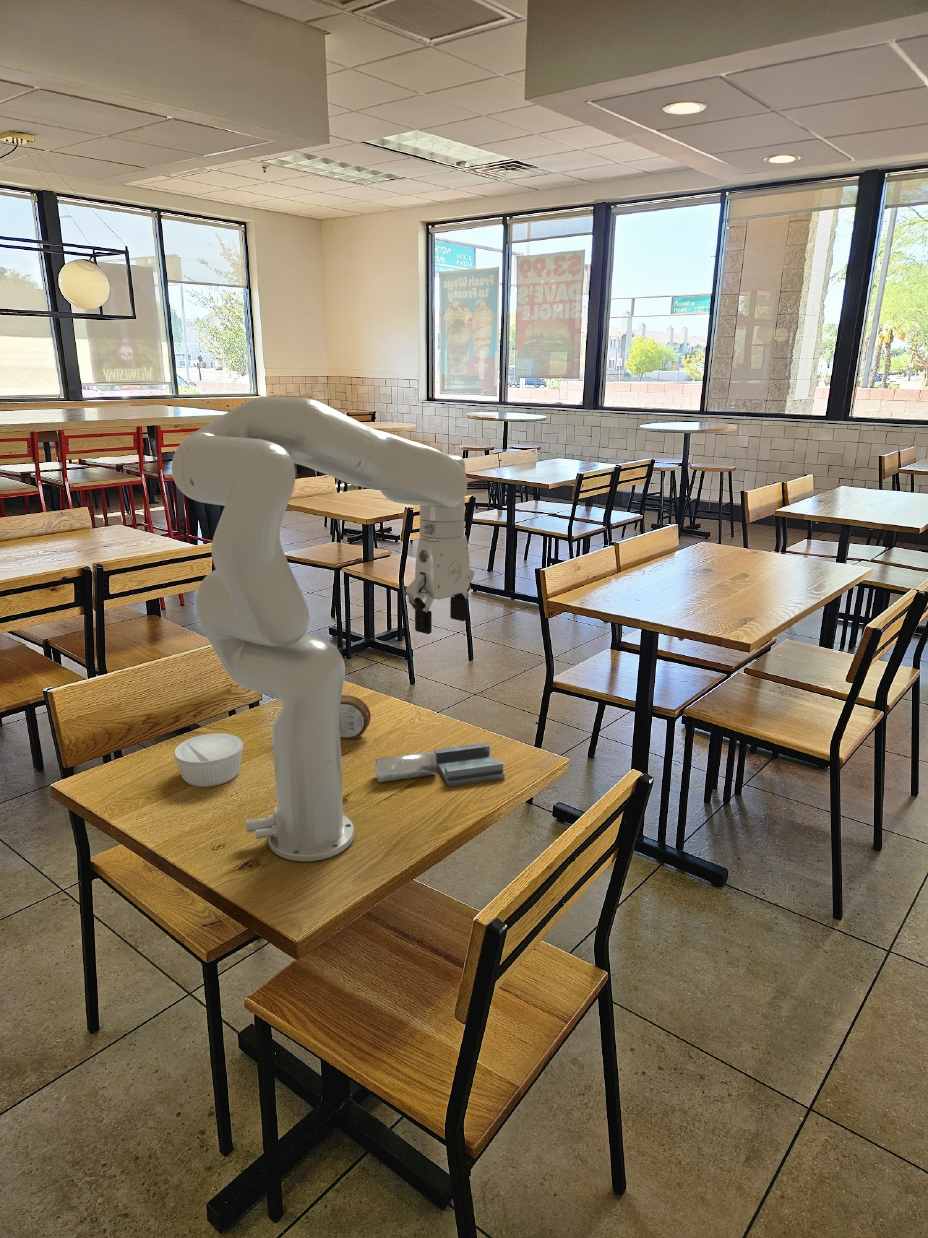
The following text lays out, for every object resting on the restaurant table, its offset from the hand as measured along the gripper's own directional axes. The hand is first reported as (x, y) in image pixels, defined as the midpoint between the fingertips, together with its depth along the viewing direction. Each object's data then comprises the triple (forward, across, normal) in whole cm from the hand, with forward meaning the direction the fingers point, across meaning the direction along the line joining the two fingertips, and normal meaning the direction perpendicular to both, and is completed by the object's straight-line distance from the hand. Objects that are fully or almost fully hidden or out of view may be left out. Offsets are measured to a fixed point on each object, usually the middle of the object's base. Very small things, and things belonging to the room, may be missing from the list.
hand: (441, 625), depth 141 cm
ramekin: (+25, -31, +26) cm, 47 cm away
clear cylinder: (+24, -11, -1) cm, 27 cm away
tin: (+25, -8, +20) cm, 33 cm away
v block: (+24, -2, -8) cm, 26 cm away
